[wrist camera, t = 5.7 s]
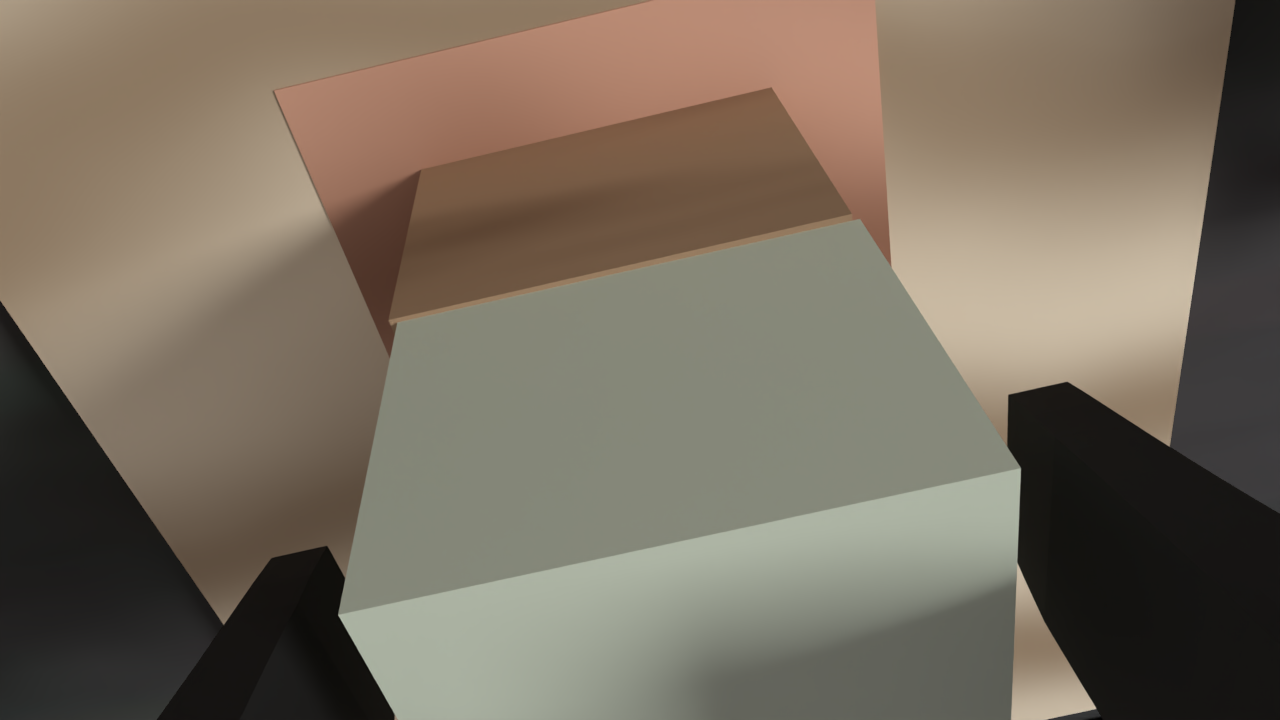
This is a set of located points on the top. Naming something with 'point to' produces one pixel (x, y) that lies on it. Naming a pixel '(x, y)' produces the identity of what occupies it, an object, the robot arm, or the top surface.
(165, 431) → the build board
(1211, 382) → the top surface
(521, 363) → the sage block
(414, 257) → the walnut block
